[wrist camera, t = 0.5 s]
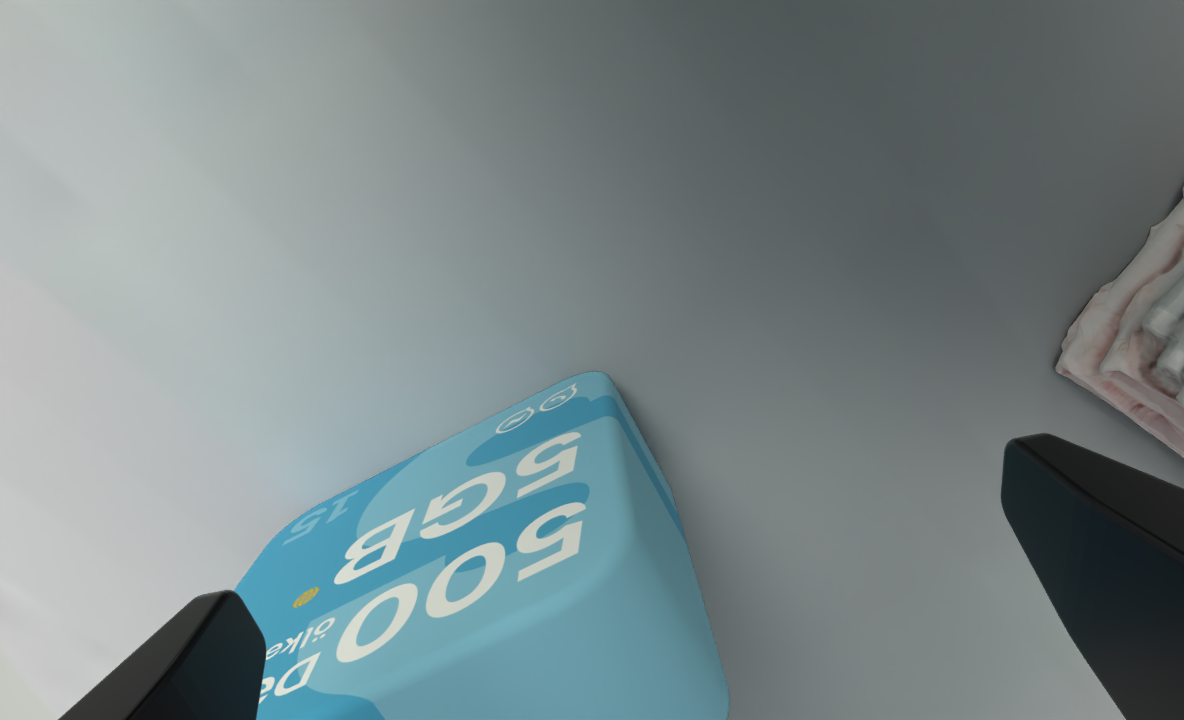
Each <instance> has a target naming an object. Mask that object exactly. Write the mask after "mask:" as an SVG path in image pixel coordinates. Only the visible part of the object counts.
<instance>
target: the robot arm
mask: <svg viewBox="0 0 1184 720" xmlns="http://www.w3.org/2000/svg"><path fill="white" fill-rule="evenodd" d="M1001 503H1002V507H1003V511H1004V513H1005V516H1006V518H1007V520H1008V522H1009V524H1010V526H1011V527H1012V529H1013V531H1014V533H1015V535H1016V537H1017V539H1018V541H1019V542H1020V544H1021V546H1022V548H1023V550H1024V552H1025V554H1026V556H1027V557H1028V559H1029V561H1030V563H1031V565H1032V567H1033V569H1034V571H1035V572H1036V574H1037V576H1038V578H1039V580H1040V582H1041V584H1042V586H1043V587H1044V589H1045V591H1046V593H1047V595H1048V597H1049V599H1050V601H1051V602H1052V604H1053V606H1054V608H1055V610H1056V612H1057V614H1058V616H1059V617H1060V619H1061V621H1062V623H1063V624H1064V626H1065V628H1066V630H1067V632H1068V633H1069V635H1070V637H1071V638H1072V640H1073V641H1074V643H1075V644H1076V646H1077V648H1078V649H1079V651H1080V652H1081V654H1082V655H1083V657H1084V658H1085V660H1086V661H1087V663H1088V664H1089V666H1090V667H1091V669H1092V670H1093V672H1094V673H1095V675H1096V676H1097V677H1098V679H1099V680H1100V682H1101V683H1102V685H1103V686H1104V688H1105V689H1106V691H1107V692H1108V694H1109V695H1110V697H1111V698H1112V699H1113V701H1114V702H1115V704H1116V705H1117V707H1118V708H1119V710H1120V711H1121V713H1122V714H1123V716H1124V717H1125V719H1126V720H1184V489H1183V488H1181V487H1178V486H1176V485H1173V484H1171V483H1168V482H1166V481H1164V480H1161V479H1159V478H1156V477H1154V476H1151V475H1149V474H1146V473H1144V472H1142V471H1139V470H1137V469H1134V468H1132V467H1129V466H1127V465H1125V464H1122V463H1120V462H1117V461H1115V460H1112V459H1110V458H1108V457H1105V456H1103V455H1100V454H1098V453H1095V452H1093V451H1090V450H1088V449H1086V448H1083V447H1081V446H1078V445H1076V444H1073V443H1071V442H1069V441H1066V440H1064V439H1061V438H1059V437H1056V436H1054V435H1051V434H1046V433H1041V434H1035V435H1030V436H1024V437H1019V438H1014V439H1012V440H1010V441H1009V442H1008V443H1007V445H1006V447H1005V450H1004V460H1003V473H1002V485H1001ZM265 662H266V642H265V638H264V636H263V633H262V632H261V630H260V628H259V627H258V625H257V623H256V622H255V620H254V618H253V617H252V615H251V613H250V612H249V610H248V608H247V607H246V605H245V603H244V602H243V600H242V598H241V597H240V596H239V594H237V593H236V592H234V591H232V590H224V591H219V592H213V593H208V594H203V595H200V596H198V597H196V598H194V599H193V600H192V601H191V602H189V603H188V604H187V605H186V606H185V607H184V608H183V609H182V610H180V611H179V612H178V613H177V614H176V615H175V616H174V617H173V618H172V619H170V620H169V621H168V622H167V623H166V624H165V625H164V626H163V627H161V628H160V629H159V630H158V631H157V632H156V633H155V634H154V635H152V636H151V637H150V638H149V639H148V640H147V641H146V642H145V643H143V644H142V645H141V646H140V647H139V648H138V649H137V650H136V651H135V652H133V653H132V654H131V655H130V656H129V657H128V658H127V659H126V660H124V661H123V662H122V663H121V664H120V665H119V666H118V667H117V668H115V669H114V670H113V671H112V672H111V673H110V674H109V675H108V676H106V677H105V678H104V679H103V680H102V681H101V682H100V683H99V684H98V685H96V686H95V687H94V688H93V689H92V690H91V691H90V692H89V693H87V694H86V695H85V696H84V697H83V698H82V699H81V700H80V701H78V702H77V703H76V704H75V705H74V706H73V707H72V708H71V709H70V710H68V711H67V712H66V713H65V714H64V715H63V716H62V717H61V718H59V719H58V720H256V718H257V712H258V706H259V699H260V693H261V687H262V681H263V674H264V668H265Z"/></svg>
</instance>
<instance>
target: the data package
mask: <svg viewBox="0 0 1184 720" xmlns="http://www.w3.org/2000/svg"><path fill="white" fill-rule="evenodd" d="M234 592H236V593H237V594H239V596H240V597H241V598H242V600H243V602H244V603H245V605H246V607H247V608H248V610H249V612H250V613H251V615H252V617H253V618H254V620H255V622H256V623H257V625H258V627H259V628H260V630H261V632H262V633H263V636H264V638H265V642H266V662H265V668H264V674H263V681H262V687H261V693H260V699H259V706H258V712H257V718H256V720H727V718H728V713H729V705H730V698H729V689H728V684H727V681H726V678H725V674H724V671H723V667H722V664H721V660H720V657H719V653H718V650H717V646H716V643H715V640H714V636H713V633H712V629H711V626H710V622H709V619H708V615H707V612H706V608H705V605H704V602H703V598H702V595H701V591H700V588H699V584H698V581H697V577H696V574H695V571H694V567H693V564H692V560H691V557H690V553H689V550H688V546H687V543H686V539H685V536H684V533H683V529H682V526H681V522H680V519H679V515H678V512H677V508H676V505H675V501H674V498H673V495H672V491H671V489H670V486H669V485H668V483H667V481H666V479H665V477H664V475H663V474H662V472H661V470H660V468H659V466H658V464H657V462H656V461H655V459H654V457H653V455H652V453H651V451H650V450H649V448H648V446H647V444H646V442H645V440H644V439H643V437H642V435H641V433H640V431H639V429H638V428H637V426H636V424H635V422H634V420H633V418H632V417H631V415H630V413H629V411H628V409H627V407H626V406H625V404H624V402H623V400H622V398H621V396H620V394H619V393H618V391H617V389H616V387H615V385H614V383H613V382H612V380H611V378H610V377H609V376H608V375H607V374H605V373H603V372H597V371H593V372H586V373H582V374H578V375H575V376H572V377H570V378H567V379H565V380H563V381H561V382H559V383H557V384H555V385H553V386H551V387H549V388H547V389H545V390H543V391H541V392H539V393H537V394H535V395H533V396H531V397H529V398H527V399H525V400H523V401H521V402H519V403H517V404H515V405H513V406H512V407H510V408H508V409H506V410H504V411H502V412H500V413H498V414H496V415H494V416H492V417H490V418H488V419H486V420H484V421H482V422H480V423H478V424H476V425H474V426H472V427H470V428H468V429H466V430H464V431H462V432H460V433H459V434H457V435H455V436H453V437H451V438H449V439H447V440H445V441H443V442H441V443H439V444H437V445H435V446H433V447H431V448H429V449H427V450H425V451H423V452H421V453H419V454H417V455H415V456H413V457H411V458H409V459H408V460H406V461H404V462H402V463H400V464H398V465H396V466H394V467H392V468H390V469H388V470H386V471H384V472H382V473H380V474H378V475H376V476H374V477H372V478H370V479H368V480H366V481H364V482H362V483H360V484H358V485H357V486H355V487H353V488H351V489H349V490H347V491H345V492H343V493H341V494H339V495H337V496H335V497H333V498H331V499H329V500H327V501H325V502H323V503H321V504H319V505H317V506H316V507H314V508H312V509H311V510H309V511H307V512H306V513H304V514H303V515H301V516H300V517H298V518H297V519H296V520H294V521H293V522H292V523H290V524H289V525H288V526H286V527H285V528H284V529H283V530H282V531H281V532H279V533H278V534H277V535H276V536H275V537H274V538H273V539H272V540H271V541H270V542H269V544H268V545H267V546H266V547H265V549H264V550H263V551H262V553H261V554H260V556H259V557H258V558H257V560H256V561H255V562H254V564H253V565H252V566H251V568H250V569H249V571H248V572H247V573H246V575H245V576H244V577H243V579H242V580H241V582H240V583H239V584H238V586H237V587H236V588H235V590H234Z"/></svg>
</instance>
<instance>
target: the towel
mask: <svg viewBox="0 0 1184 720" xmlns="http://www.w3.org/2000/svg"><path fill="white" fill-rule="evenodd" d="M1182 190H1183V199H1182V200H1181V201H1180V202H1179V204H1178V205H1177V206H1176V207H1175V208H1174V210H1173V211H1172V212H1171V213H1170V214H1169V216H1168V217H1167V218H1166V219H1165V220H1163V221H1162V222H1160V223H1159V224H1158V225H1156V226H1153V227H1151V230H1150V234H1149V237H1148V238H1147V241H1146V244H1145V245H1144V247H1143V248H1142V249H1141V250H1140V252H1139V253H1138V254H1137V255H1136V256H1135V258H1134V259H1133V260H1132V261H1131V262H1130V264H1129V265H1128V266H1127V267H1126V268H1125V269H1124V271H1123V272H1122V273H1121V274H1120V275H1119V276H1118V277H1117V278H1116V280H1114V281H1113V282H1110V283H1108V284H1106V285H1104V286H1102V287H1101V288H1100V290H1099V291H1098V292H1097V293H1095V294H1094V296H1093V297H1092V298H1091V300H1090V301H1089V303H1088V304H1087V305H1086V307H1085V308H1084V310H1083V311H1082V312H1081V314H1080V315H1079V317H1078V318H1077V320H1076V321H1075V322H1074V323H1073V324H1072V326H1071V327H1070V328H1069V329H1068V333H1067V336H1066V337H1065V339H1064V341H1063V343H1062V344H1061V346H1062V350H1063V352H1062V354H1061V356H1060V358H1059V360H1058V363H1057V365H1056V367H1055V369H1056V372H1057V373H1058V374H1061V375H1063V376H1065V377H1067V378H1070V379H1071V380H1073V381H1074V382H1075V383H1076V384H1078V385H1080V386H1082V387H1084V388H1085V389H1087V390H1089V391H1090V392H1092V393H1093V394H1095V395H1096V396H1098V397H1099V398H1101V399H1102V400H1104V401H1105V402H1107V403H1108V404H1110V405H1111V406H1113V407H1114V408H1116V409H1117V410H1119V411H1120V412H1122V413H1124V414H1125V415H1127V416H1128V417H1129V418H1131V419H1132V420H1133V421H1134V422H1136V423H1137V424H1138V425H1139V426H1141V427H1142V428H1143V429H1144V430H1146V431H1147V432H1149V433H1151V434H1152V435H1154V436H1155V437H1156V438H1158V439H1159V440H1160V441H1162V442H1163V443H1164V444H1166V445H1167V446H1168V447H1170V448H1171V449H1172V450H1174V451H1175V452H1176V453H1178V454H1179V455H1180V456H1182V457H1183V458H1184V185H1183V188H1182Z"/></svg>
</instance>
